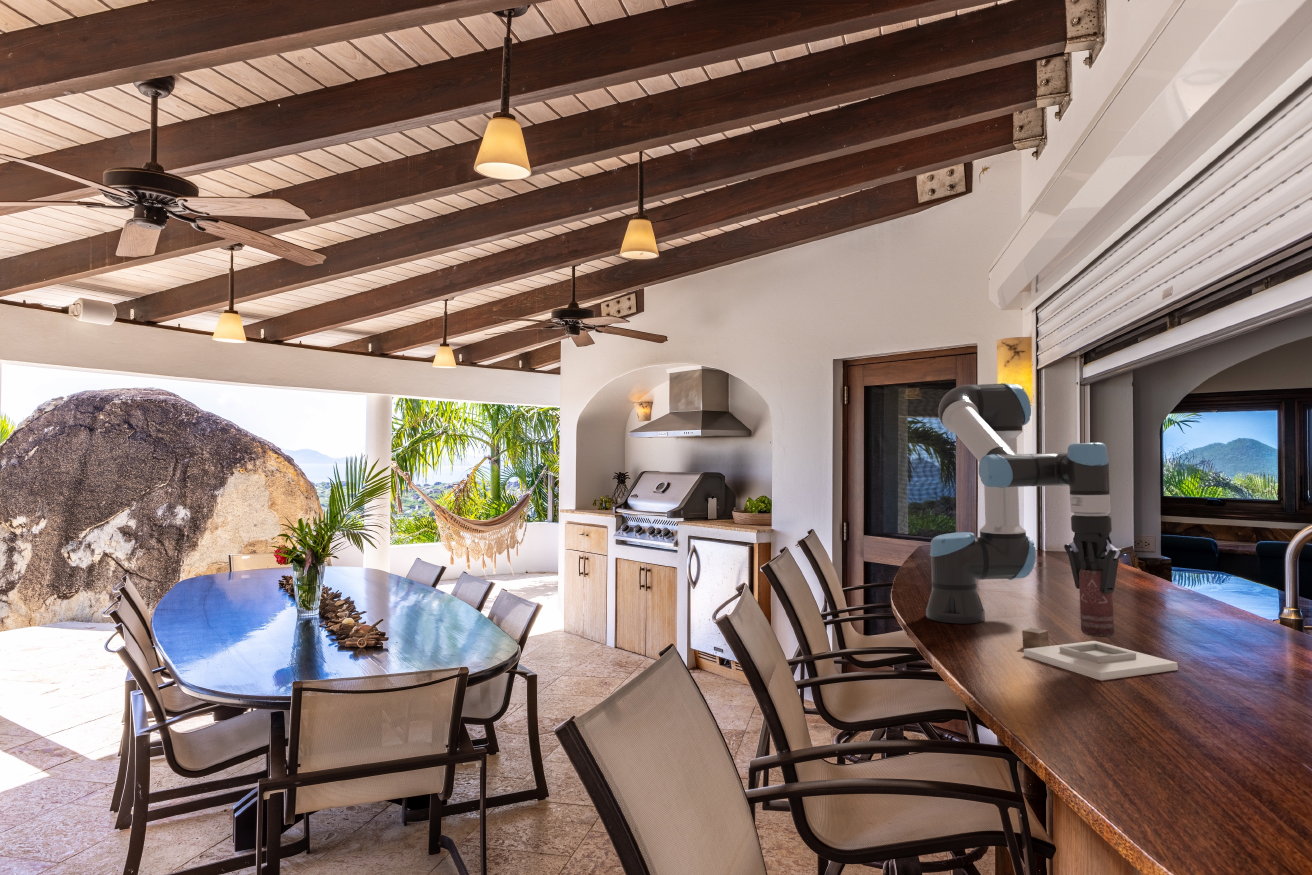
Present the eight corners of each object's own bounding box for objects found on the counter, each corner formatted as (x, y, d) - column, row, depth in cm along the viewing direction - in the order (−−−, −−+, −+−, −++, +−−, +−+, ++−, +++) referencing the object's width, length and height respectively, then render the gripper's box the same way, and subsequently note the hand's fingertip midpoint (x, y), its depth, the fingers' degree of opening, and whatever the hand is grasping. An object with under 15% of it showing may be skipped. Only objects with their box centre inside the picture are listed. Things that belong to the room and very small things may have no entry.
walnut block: (1023, 647, 173) (1022, 630, 173) (1031, 644, 175) (1030, 627, 175) (1040, 650, 169) (1039, 633, 170) (1048, 647, 172) (1047, 630, 172)
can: (1121, 637, 155) (1119, 570, 156) (1091, 637, 156) (1088, 570, 156) (1105, 630, 162) (1102, 566, 162) (1075, 630, 162) (1073, 566, 162)
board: (1024, 655, 165) (1023, 643, 165) (1094, 647, 171) (1094, 635, 171) (1100, 680, 146) (1100, 666, 146) (1177, 669, 152) (1177, 656, 152)
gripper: (1052, 513, 165) (1057, 620, 164) (1103, 516, 152) (1108, 632, 151) (1079, 512, 167) (1084, 617, 166) (1131, 515, 154) (1137, 629, 153)
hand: (1096, 624), depth 158 cm, fingers closed
